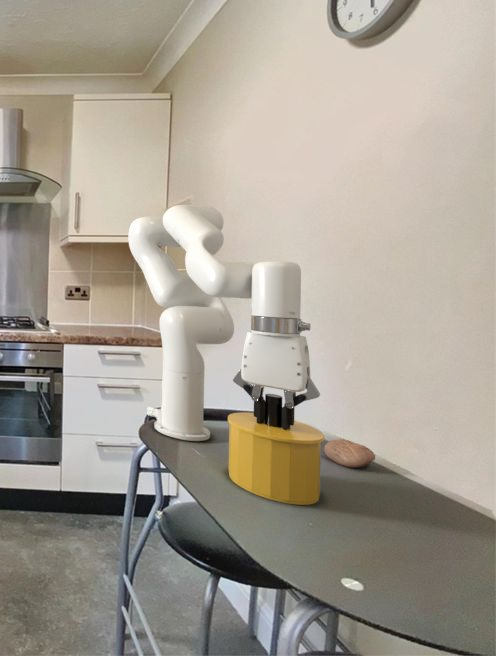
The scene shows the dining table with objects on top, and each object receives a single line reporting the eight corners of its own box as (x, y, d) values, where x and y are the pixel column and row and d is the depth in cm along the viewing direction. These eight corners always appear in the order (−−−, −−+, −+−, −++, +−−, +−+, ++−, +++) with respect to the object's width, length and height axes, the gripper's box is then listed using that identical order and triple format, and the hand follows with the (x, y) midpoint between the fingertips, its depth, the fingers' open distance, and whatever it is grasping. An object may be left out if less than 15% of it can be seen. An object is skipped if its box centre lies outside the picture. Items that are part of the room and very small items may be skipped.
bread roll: (334, 450, 92) (312, 445, 89) (353, 432, 90) (331, 425, 87) (367, 480, 85) (344, 475, 83) (389, 460, 83) (366, 454, 80)
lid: (216, 428, 75) (217, 392, 76) (241, 413, 85) (241, 381, 85) (315, 455, 64) (316, 413, 65) (331, 434, 74) (331, 398, 74)
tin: (218, 481, 75) (219, 425, 76) (241, 461, 84) (242, 411, 85) (310, 514, 65) (311, 449, 65) (325, 488, 74) (326, 431, 74)
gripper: (335, 330, 72) (334, 434, 71) (232, 321, 84) (230, 409, 83) (328, 332, 67) (327, 444, 66) (219, 323, 79) (217, 416, 78)
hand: (273, 424), depth 75 cm, fingers open, 3 cm apart
